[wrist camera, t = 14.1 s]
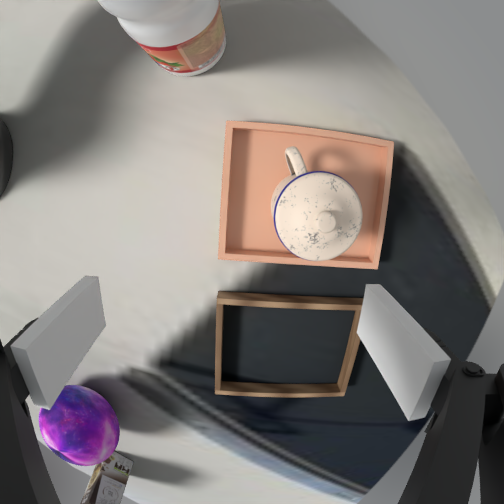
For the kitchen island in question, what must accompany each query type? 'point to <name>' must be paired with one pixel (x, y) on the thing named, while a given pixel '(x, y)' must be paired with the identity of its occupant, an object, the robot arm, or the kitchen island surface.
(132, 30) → the fruit juice
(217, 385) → the walnut corral
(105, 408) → the decorative orb
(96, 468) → the coffee box
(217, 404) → the kitchen island surface
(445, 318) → the kitchen island surface
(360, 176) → the terracotta dish
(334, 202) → the teacup with lid
